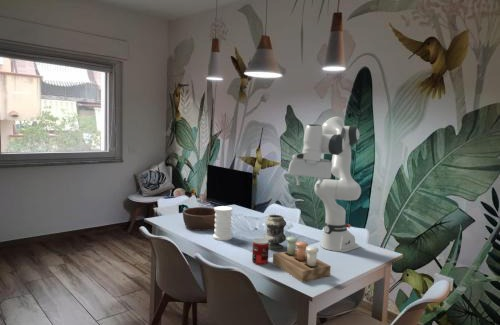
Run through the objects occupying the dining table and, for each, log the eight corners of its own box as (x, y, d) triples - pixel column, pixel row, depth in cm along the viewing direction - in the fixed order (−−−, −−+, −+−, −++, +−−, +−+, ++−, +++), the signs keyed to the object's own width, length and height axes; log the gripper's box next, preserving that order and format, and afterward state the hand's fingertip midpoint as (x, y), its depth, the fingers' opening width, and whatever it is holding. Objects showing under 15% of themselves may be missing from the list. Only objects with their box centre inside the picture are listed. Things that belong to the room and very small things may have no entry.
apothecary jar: (278, 242, 211) (280, 212, 209) (289, 249, 200) (291, 217, 198) (260, 244, 206) (261, 214, 204) (270, 251, 195) (271, 219, 193)
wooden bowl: (174, 225, 237) (174, 210, 236) (202, 219, 256) (203, 205, 255) (199, 234, 221) (200, 218, 220) (228, 226, 240) (228, 211, 239)
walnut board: (298, 258, 187) (299, 249, 186) (329, 276, 166) (330, 265, 165) (272, 263, 179) (273, 253, 178) (302, 282, 158) (302, 271, 157)
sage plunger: (292, 250, 182) (293, 236, 182) (299, 254, 178) (299, 239, 177) (283, 252, 180) (284, 237, 179) (289, 255, 175) (290, 240, 174)
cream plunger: (312, 261, 169) (313, 245, 168) (320, 265, 164) (321, 249, 163) (302, 263, 166) (303, 247, 165) (310, 267, 161) (311, 251, 160)
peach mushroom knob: (302, 255, 175) (302, 240, 175) (309, 259, 171) (310, 244, 170) (292, 257, 173) (293, 242, 172) (299, 261, 168) (300, 245, 167)
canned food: (252, 258, 184) (253, 237, 183) (268, 259, 183) (269, 238, 182) (251, 264, 176) (252, 242, 175) (267, 265, 176) (268, 243, 175)
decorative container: (227, 241, 209) (228, 211, 208) (209, 238, 213) (210, 209, 211) (235, 236, 220) (236, 207, 218) (217, 233, 224) (218, 205, 222)
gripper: (330, 160, 174) (328, 188, 173) (289, 155, 173) (286, 184, 172) (334, 159, 168) (331, 188, 167) (291, 154, 167) (288, 183, 166)
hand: (308, 186), depth 169 cm, fingers open, 8 cm apart
